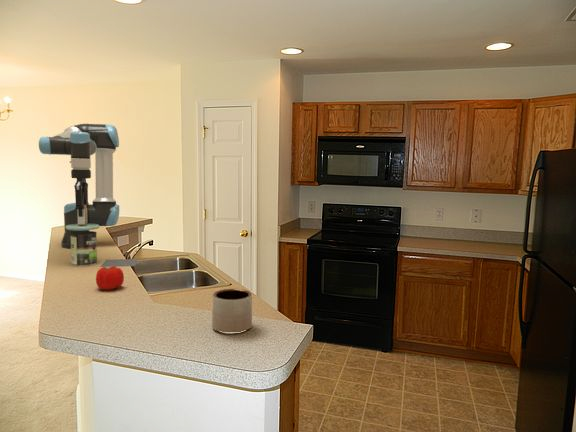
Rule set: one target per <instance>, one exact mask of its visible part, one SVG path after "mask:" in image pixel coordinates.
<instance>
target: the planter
mask: <svg viewBox="0 0 576 432" xmlns="http://www.w3.org/2000/svg"><path fill="white" fill-rule="evenodd" d="M212 293H213V294H212V310H211V311H212V312H211V313H212V315H211V318H212V319H211V325H212V326H211V327H212V329H213V328H214V329H216V330H218V331H222V332H241V331H244V330H247V329H249V328H250V327H251V328H252V325H253V293H252V292H251V291H249V290H246V289H243V288H225V289H220V290H217V291H214V292H212ZM251 328H250V329H251ZM214 329H213V330H214ZM250 329H249V330H250Z"/></svg>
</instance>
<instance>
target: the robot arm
mask: <svg viewBox="0 0 576 432" xmlns="http://www.w3.org/2000/svg"><path fill="white" fill-rule="evenodd" d="M119 139H120V138H119V134H118V130H117V128H116V126H115V125H112V124H106V123H105V124H103V123H102V124H101V123H80V124H75V125H73V126H69V127H67V128H66V129H64V131H63V132H61V133H58V134H56V135H54V136H41V137H40V138H39V140H38V149H39V152H40V153H41V154H43V155H49V156H50V155H56V156H57V155H58V156H59V155H61V156H63V155H64V156H65V155H66V156H70V160H69V163H70V164H71V165H70V168H72V169H71V170H70V173H71V175H70V177H71V178H72V179H76V182H75V184H74V193H75V194H74V195H75V202H72V203H71V202H70V203H67V204H65V205H64V207H63V217H64V218H63V220H64V222H63V223H64V224H63V225H64V233H63V236H62V239H61V243H60V244H61V246H62V248H63V249H71V235H70V233H72V232H78V231H74V230H66V226H67V225H71V224H85V209H84V204H85V205H86V206H87V224H98V225H99V227H114V226H116V225H117V224H118V221H119V217H120V205H119V204H117V201H116V200H115V199H114V161H113V159H114V158H113V157H114V155H113V154H114V153H115V152H116V151H117V148H119V147H120V140H119ZM93 155H95V156H94V157H95V158H94V159H95V160H94V161H95V163H94V165H95V166H94V167H95V168H94V169H95V172H94V173H95V198H94V199H93V200H92V204H90V203H89V183H88V182H87V179H91V178H92V170H91V167H92V165H91V164H92V162H91V156H93ZM82 231H90V230H82Z"/></svg>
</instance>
